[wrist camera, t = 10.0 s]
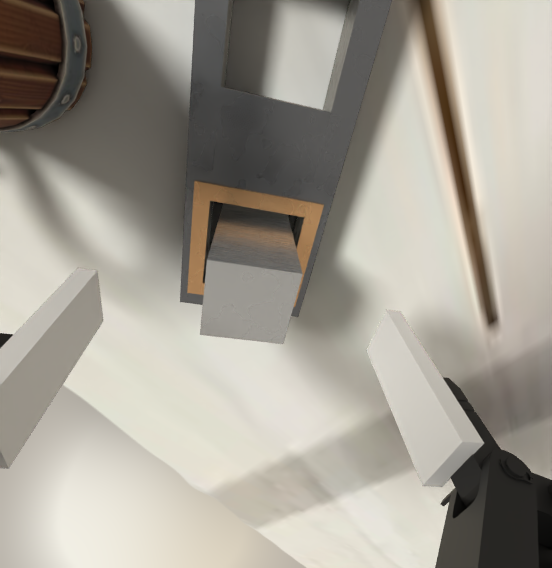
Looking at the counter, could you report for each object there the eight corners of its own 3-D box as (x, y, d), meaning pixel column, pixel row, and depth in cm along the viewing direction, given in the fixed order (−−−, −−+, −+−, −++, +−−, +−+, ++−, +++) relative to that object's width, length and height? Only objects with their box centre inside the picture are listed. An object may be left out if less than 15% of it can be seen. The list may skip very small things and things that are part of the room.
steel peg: (224, 200, 22) (206, 259, 14) (287, 211, 22) (302, 273, 15) (218, 257, 24) (199, 334, 16) (275, 265, 25) (283, 344, 17)
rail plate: (211, -128, 14) (202, -170, 12) (396, -66, 15) (420, -93, 13) (186, 284, 25) (179, 303, 23) (294, 298, 26) (298, 318, 24)
